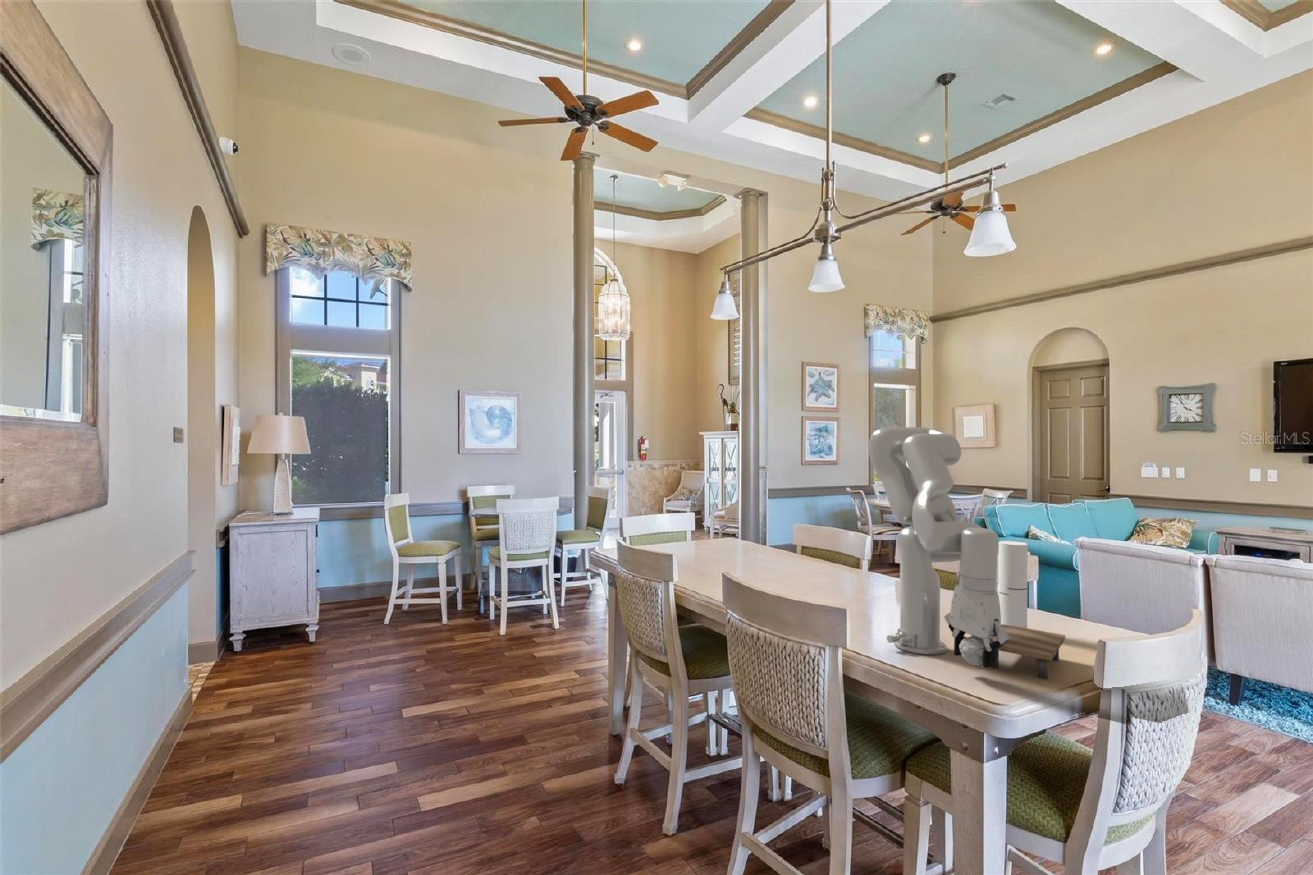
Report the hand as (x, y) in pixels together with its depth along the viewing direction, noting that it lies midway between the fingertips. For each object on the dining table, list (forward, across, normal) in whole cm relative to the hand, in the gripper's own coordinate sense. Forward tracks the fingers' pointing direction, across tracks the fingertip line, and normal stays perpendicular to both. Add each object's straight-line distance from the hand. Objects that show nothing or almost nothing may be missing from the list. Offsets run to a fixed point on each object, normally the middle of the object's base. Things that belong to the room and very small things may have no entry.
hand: (974, 660), depth 144 cm
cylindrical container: (+6, -20, +42) cm, 47 cm away
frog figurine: (+1, 0, 0) cm, 1 cm away
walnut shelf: (+4, -1, +20) cm, 20 cm away
